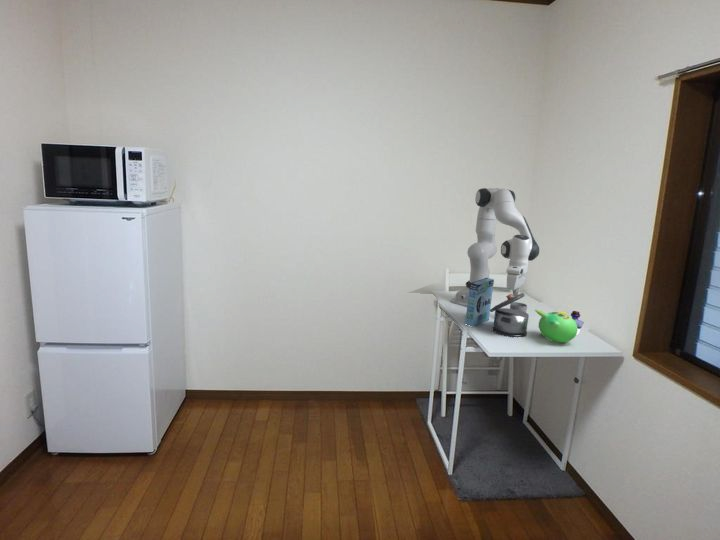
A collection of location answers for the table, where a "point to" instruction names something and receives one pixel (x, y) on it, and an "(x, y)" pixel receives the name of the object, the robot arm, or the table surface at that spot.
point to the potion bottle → (575, 317)
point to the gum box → (479, 301)
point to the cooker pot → (510, 322)
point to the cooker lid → (508, 301)
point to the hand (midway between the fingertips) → (515, 295)
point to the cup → (518, 306)
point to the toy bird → (557, 326)
